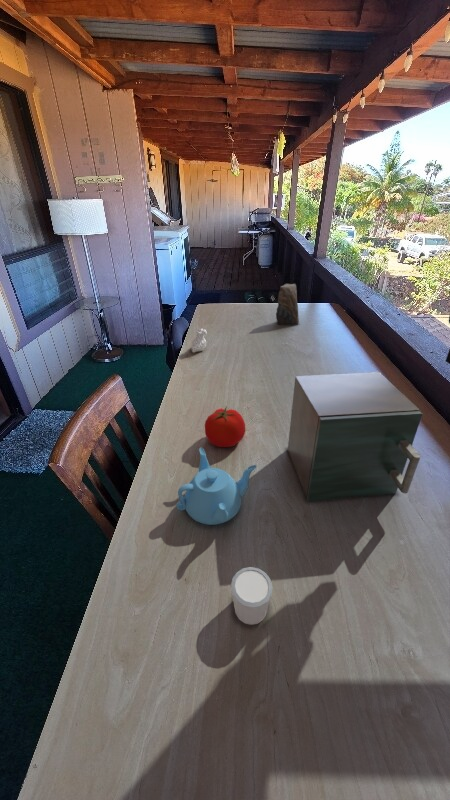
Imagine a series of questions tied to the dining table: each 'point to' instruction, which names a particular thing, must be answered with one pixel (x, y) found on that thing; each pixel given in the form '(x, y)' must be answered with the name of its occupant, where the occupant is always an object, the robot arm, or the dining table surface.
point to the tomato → (224, 427)
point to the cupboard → (335, 409)
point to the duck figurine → (199, 341)
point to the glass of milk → (251, 594)
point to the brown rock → (287, 305)
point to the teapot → (213, 493)
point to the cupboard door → (363, 455)
